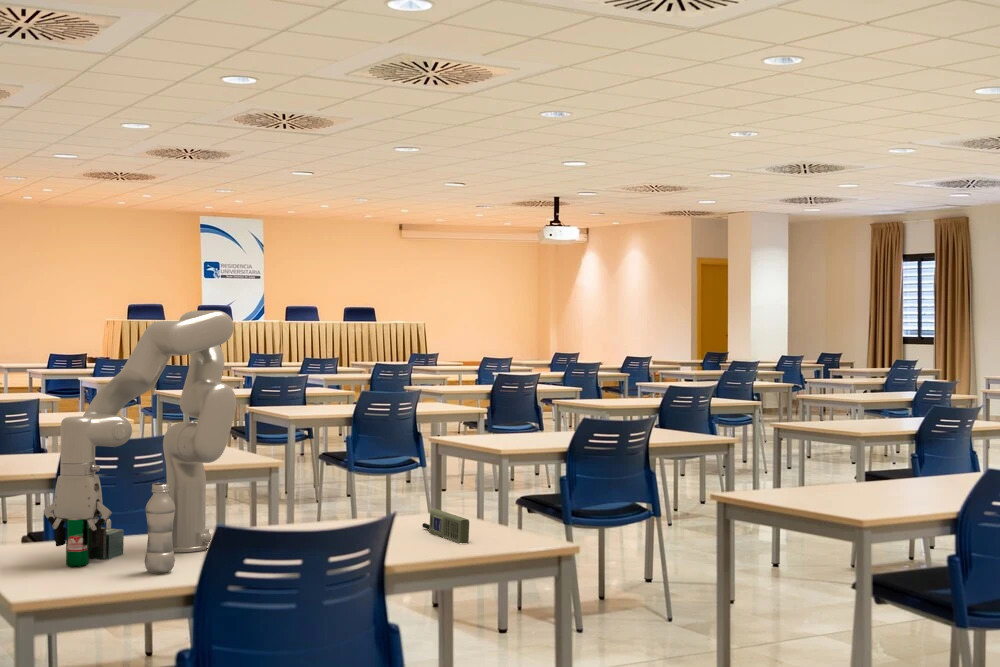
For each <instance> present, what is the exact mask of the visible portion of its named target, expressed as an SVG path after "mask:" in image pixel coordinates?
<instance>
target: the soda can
mask: <svg viewBox="0 0 1000 667" xmlns="http://www.w3.org/2000/svg"><path fill="white" fill-rule="evenodd" d="M65 528H66V544H65V549H66V550H65V565H66V566H67V567H68V568H74V569H75V568H77V569H78V568H83V567H87V566H88V565H89V564H90V559H89V531H90V525H89V523H88V522H87V520H80V519H75V518H69V519H66V522H65Z"/></svg>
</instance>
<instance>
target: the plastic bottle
mask: <svg viewBox="0 0 1000 667" xmlns="http://www.w3.org/2000/svg"><path fill="white" fill-rule="evenodd" d="M168 492H169V484H168V483H167V482H156V483H152V485H151V493H152V495H151V497H150V498H149V500H148V501H147V503H146V506H145V515H146V522H147V546H146V552H145V555H144V556H145V557H144V566H145V567H144V568H145V569H146V571H147V572H149V573H155V574H163V573H167V572H170V571H172V570H173V569H174V567H175V563H176V562H175V561H176V558H175V552H174V551H173V542H172V530H173V520H174V513H175V504H174V502H173V500H172V499H171V498H170V496H169V495H168Z"/></svg>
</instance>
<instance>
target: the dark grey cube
mask: <svg viewBox="0 0 1000 667" xmlns="http://www.w3.org/2000/svg"><path fill="white" fill-rule="evenodd" d="M124 533H125V532H124V529H122V528H121V529H116V528H106V558H105V559H102V560H106V561H108V560H109V561H110V560H112V559H115V558H117V557H120V556H122V555H124V541H125V540H124V539H125V537H124Z"/></svg>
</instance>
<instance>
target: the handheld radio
mask: <svg viewBox="0 0 1000 667" xmlns="http://www.w3.org/2000/svg"><path fill="white" fill-rule="evenodd" d="M429 509H430V511H429V512H430V513H429V524H428V523H426V522H424V523H422V525H421V527H422V528H424V529H427V530H428V531H429V532H430V534H432V533H433V535H435V534H436V535H435V536H437V535H438V537H440V536H441V538H443V537H444V539H445V538H447V539H446V540H448V539H449V541H451V540H452V542H454V541H455V542H454V543H456V542H457V544H459V543H467V544H469V539H470V520H469V518H465V517H462V516H458V515H455V514H452V513H450V512H447V511H443V510H441V509H437V508H431V507H430V508H429ZM429 532H428V533H429Z"/></svg>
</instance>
